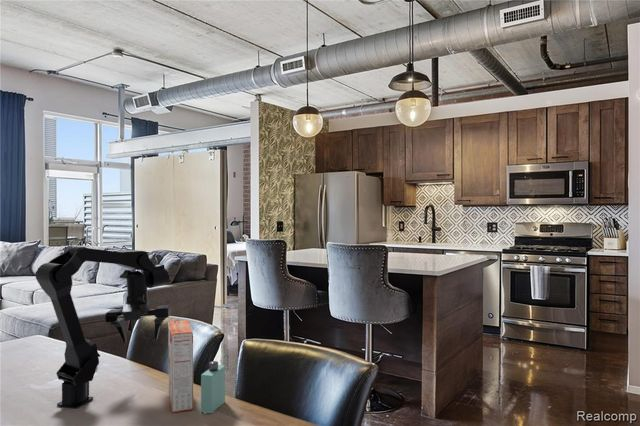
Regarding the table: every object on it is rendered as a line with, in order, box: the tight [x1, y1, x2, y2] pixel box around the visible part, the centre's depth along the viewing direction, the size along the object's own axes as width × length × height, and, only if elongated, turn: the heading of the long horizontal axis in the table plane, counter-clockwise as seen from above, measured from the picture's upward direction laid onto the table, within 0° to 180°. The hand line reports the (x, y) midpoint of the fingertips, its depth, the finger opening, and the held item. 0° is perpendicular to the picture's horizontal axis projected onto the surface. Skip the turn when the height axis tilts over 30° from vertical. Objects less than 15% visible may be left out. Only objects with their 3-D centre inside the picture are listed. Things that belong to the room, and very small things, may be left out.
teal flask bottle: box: [200, 360, 226, 414], centre depth 126 cm, size 8×3×12 cm, turn 166°
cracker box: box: [167, 319, 194, 413], centre depth 129 cm, size 14×6×21 cm, turn 21°
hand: (140, 341), depth 145 cm, fingers open, 9 cm apart
